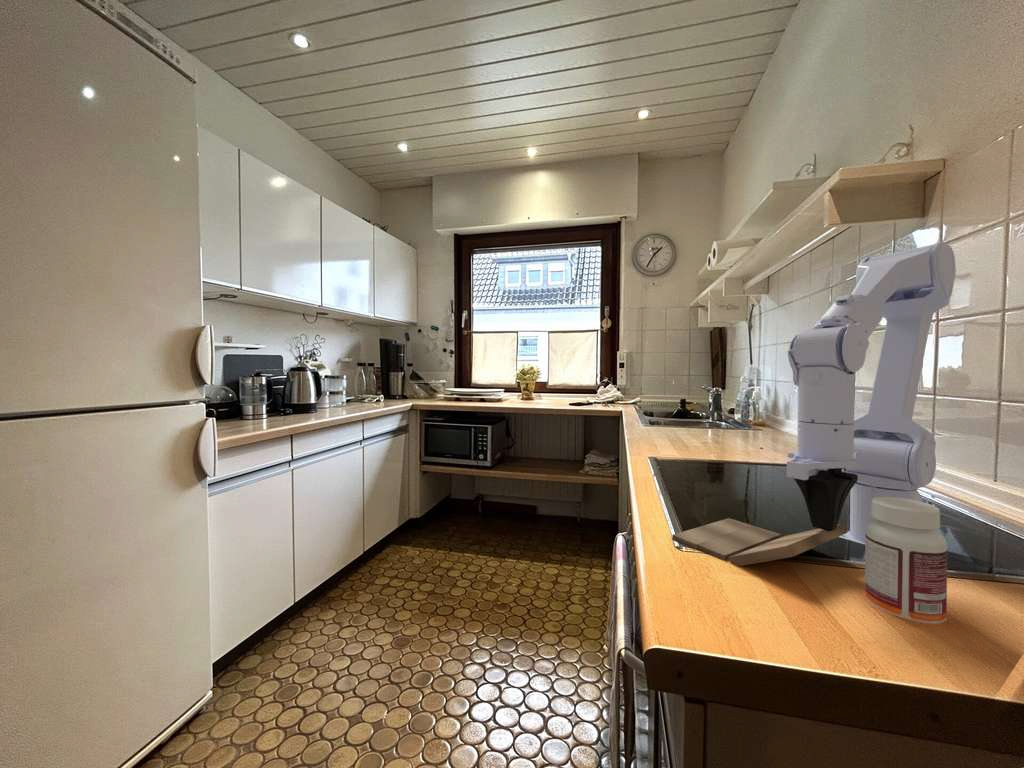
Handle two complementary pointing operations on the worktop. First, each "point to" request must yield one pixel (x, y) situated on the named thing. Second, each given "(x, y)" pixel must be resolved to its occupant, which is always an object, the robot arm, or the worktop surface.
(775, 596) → the worktop surface
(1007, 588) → the worktop surface
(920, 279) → the robot arm
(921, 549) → the pill bottle
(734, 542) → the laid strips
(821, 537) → the plank
